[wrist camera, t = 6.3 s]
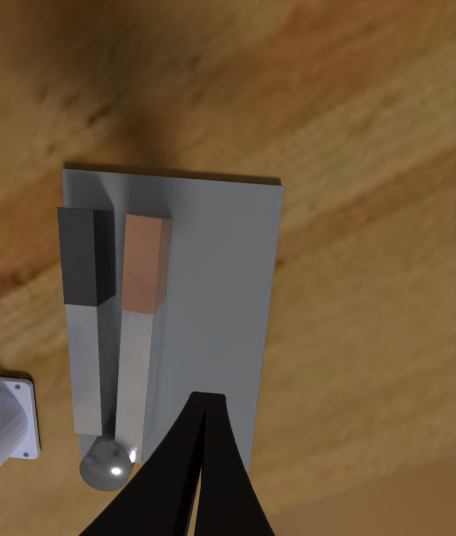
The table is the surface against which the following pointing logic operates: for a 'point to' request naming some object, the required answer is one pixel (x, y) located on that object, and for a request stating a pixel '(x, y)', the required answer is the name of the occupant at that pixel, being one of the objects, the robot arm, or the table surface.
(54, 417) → the table surface
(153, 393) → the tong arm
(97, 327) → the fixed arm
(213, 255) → the slate mat
